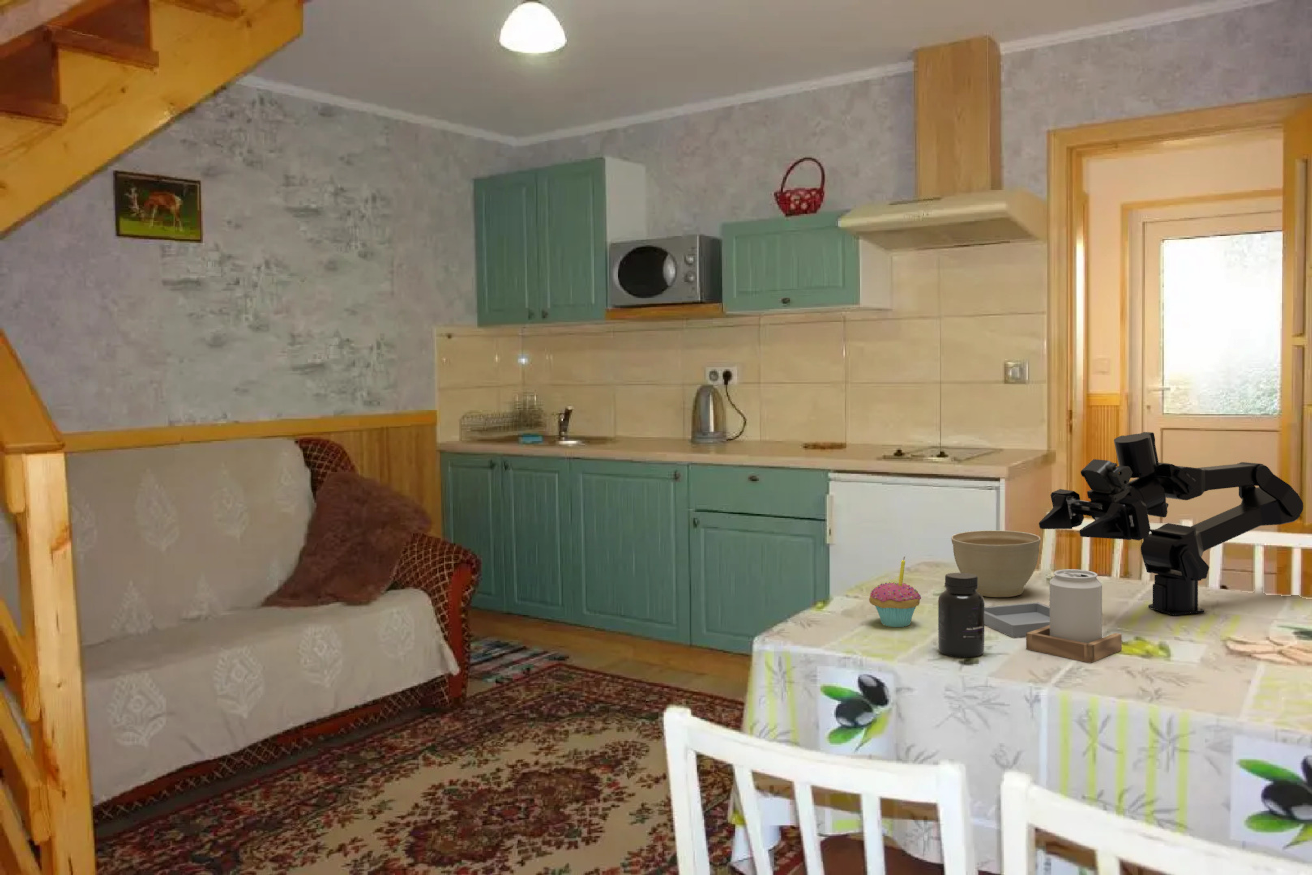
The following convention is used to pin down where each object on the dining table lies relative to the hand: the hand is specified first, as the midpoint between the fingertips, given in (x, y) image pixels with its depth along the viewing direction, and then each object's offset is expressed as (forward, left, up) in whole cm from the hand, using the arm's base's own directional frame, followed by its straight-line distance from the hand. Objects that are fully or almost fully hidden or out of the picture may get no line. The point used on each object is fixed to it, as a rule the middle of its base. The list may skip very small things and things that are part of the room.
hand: (1059, 529), depth 168 cm
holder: (+5, +11, -17) cm, 21 cm away
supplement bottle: (+22, +7, -17) cm, 28 cm away
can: (+5, +11, -17) cm, 21 cm away
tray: (+4, -4, -17) cm, 17 cm away
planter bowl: (-4, -27, -17) cm, 32 cm away
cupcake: (+24, -12, -17) cm, 31 cm away
